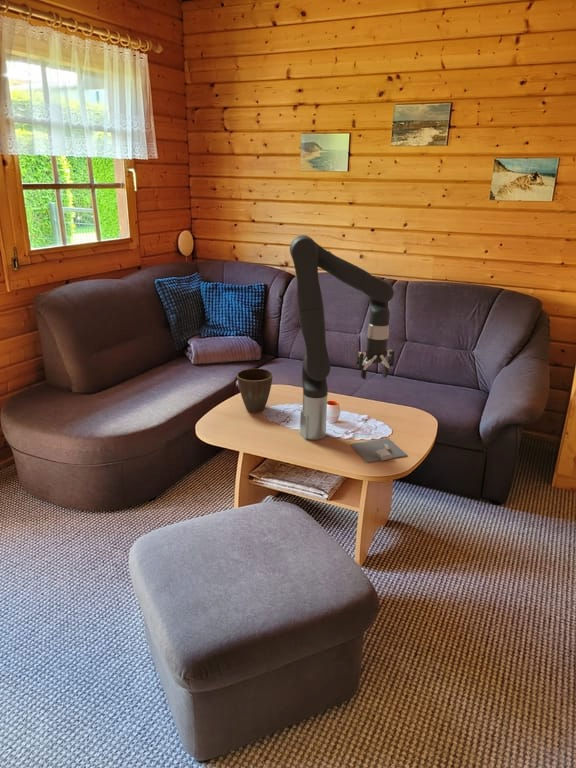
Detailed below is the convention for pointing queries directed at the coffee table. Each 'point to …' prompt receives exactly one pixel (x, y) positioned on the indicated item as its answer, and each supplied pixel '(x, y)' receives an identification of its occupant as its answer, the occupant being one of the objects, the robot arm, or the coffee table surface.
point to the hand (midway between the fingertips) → (374, 377)
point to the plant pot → (255, 388)
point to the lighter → (383, 453)
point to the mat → (371, 447)
